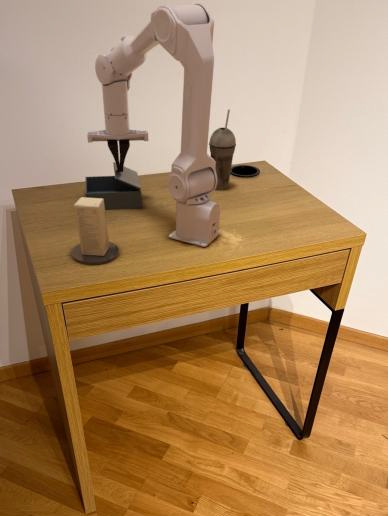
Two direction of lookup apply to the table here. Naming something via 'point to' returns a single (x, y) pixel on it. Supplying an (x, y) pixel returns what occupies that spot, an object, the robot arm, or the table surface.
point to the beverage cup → (222, 153)
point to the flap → (127, 176)
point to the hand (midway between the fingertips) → (120, 170)
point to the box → (92, 226)
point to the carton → (113, 192)
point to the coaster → (95, 259)
